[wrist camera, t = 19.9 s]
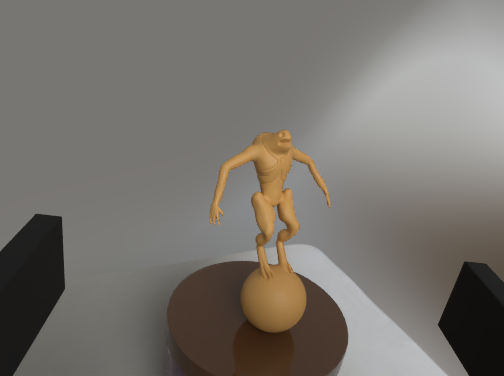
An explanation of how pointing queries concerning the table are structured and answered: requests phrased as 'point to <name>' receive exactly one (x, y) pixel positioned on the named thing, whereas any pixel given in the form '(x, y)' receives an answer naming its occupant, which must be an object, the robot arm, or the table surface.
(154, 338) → the table surface
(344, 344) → the jar
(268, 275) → the figurine
